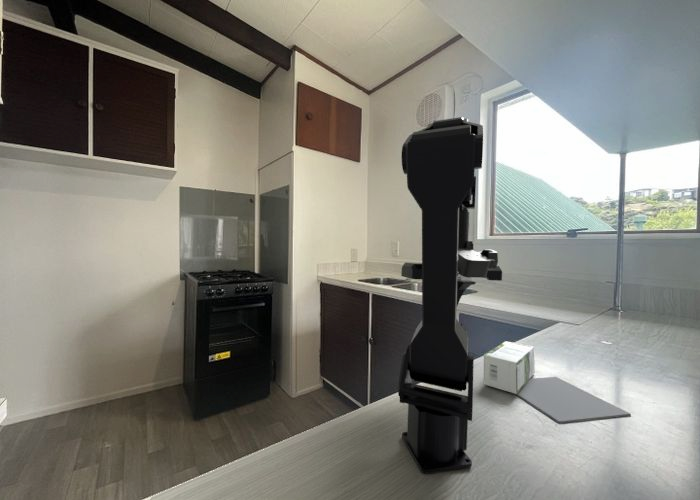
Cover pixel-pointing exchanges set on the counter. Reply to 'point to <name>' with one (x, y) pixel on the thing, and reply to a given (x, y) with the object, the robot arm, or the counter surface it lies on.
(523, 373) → the syrup box
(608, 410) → the mat
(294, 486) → the counter surface
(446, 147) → the robot arm
